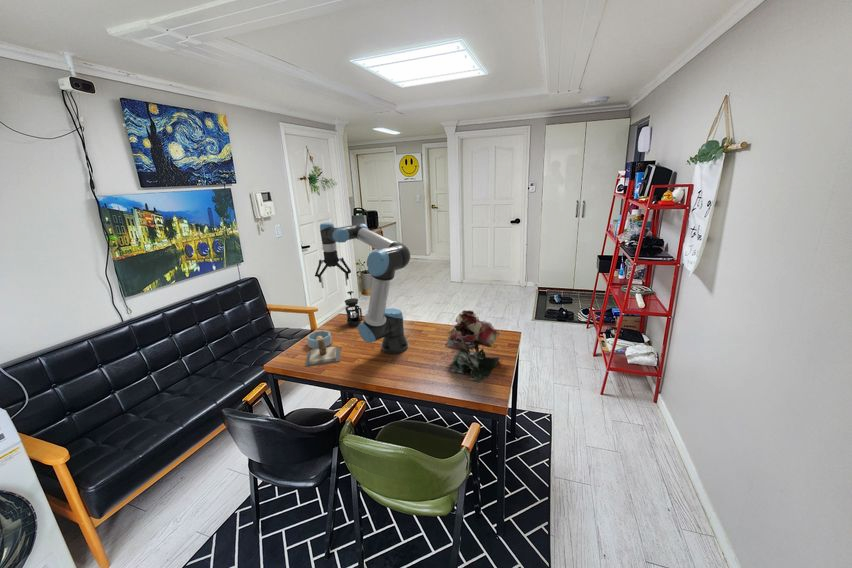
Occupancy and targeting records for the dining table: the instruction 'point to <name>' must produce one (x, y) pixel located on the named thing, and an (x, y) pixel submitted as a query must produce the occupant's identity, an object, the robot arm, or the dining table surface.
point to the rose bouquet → (472, 345)
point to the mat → (323, 362)
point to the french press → (355, 317)
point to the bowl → (318, 338)
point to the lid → (322, 353)
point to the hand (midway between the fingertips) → (334, 286)
